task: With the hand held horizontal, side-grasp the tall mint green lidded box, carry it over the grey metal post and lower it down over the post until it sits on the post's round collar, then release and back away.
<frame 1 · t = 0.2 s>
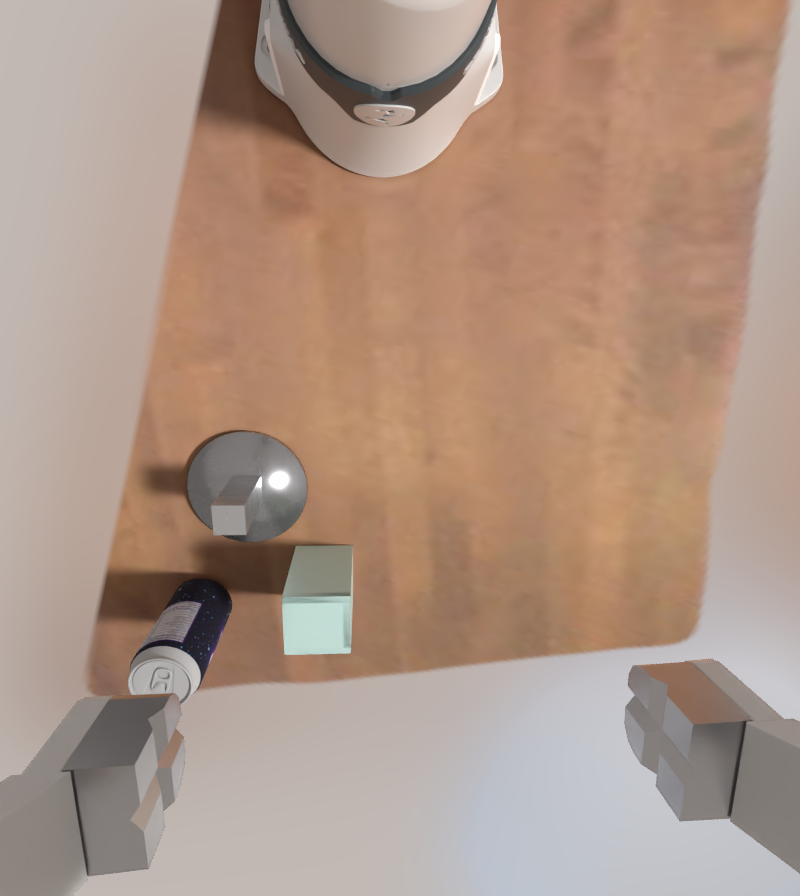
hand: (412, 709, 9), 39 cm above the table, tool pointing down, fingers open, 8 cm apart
beverage can: (206, 597, 52), on the table
post: (248, 487, 49), on the table
mint green lidded box: (325, 570, 52), on the table
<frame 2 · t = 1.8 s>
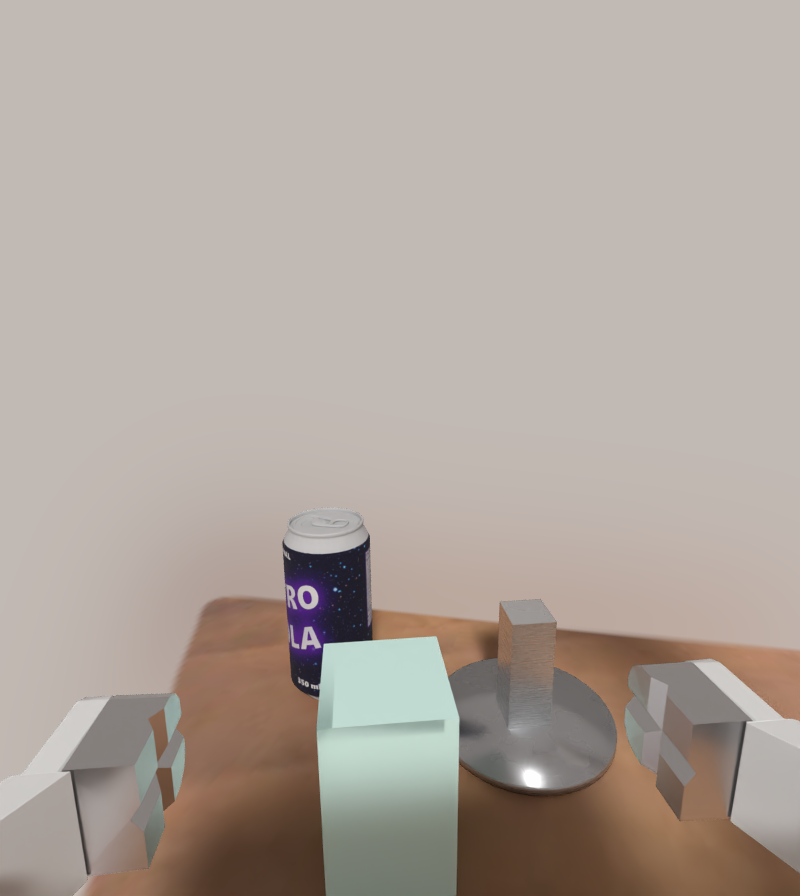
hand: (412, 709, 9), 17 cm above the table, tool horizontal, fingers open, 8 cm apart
beverage can: (333, 683, 36), on the table
post: (521, 718, 32), on the table
mint green lidded box: (387, 839, 25), on the table
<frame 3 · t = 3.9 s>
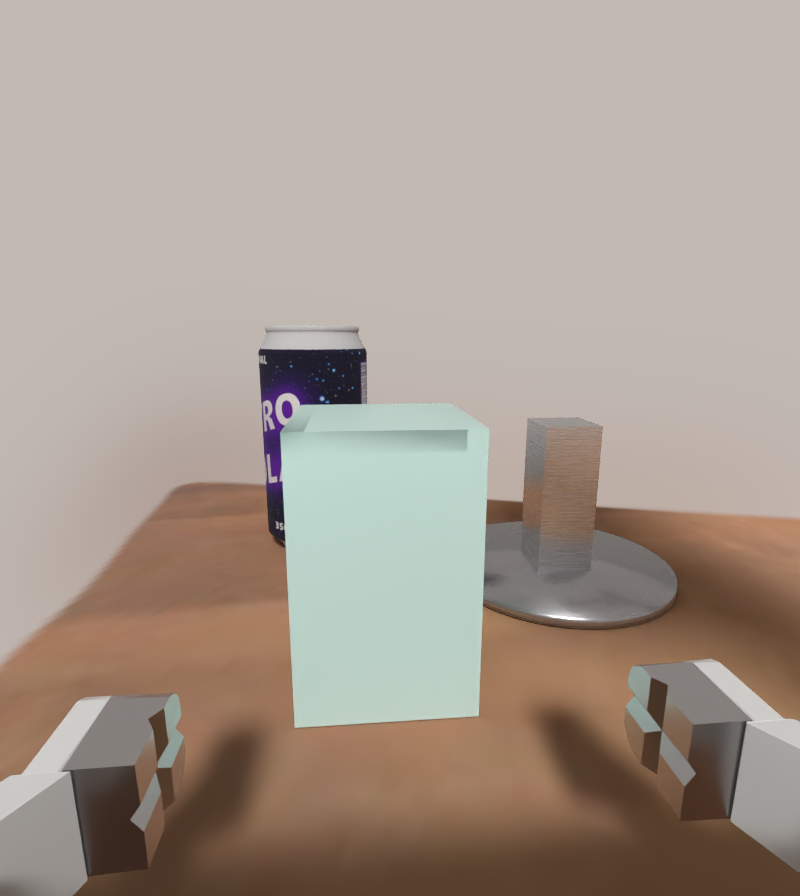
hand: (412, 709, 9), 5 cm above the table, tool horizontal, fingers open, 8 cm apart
beverage can: (320, 542, 30), on the table
post: (553, 568, 26), on the table
mint green lidded box: (383, 664, 18), on the table
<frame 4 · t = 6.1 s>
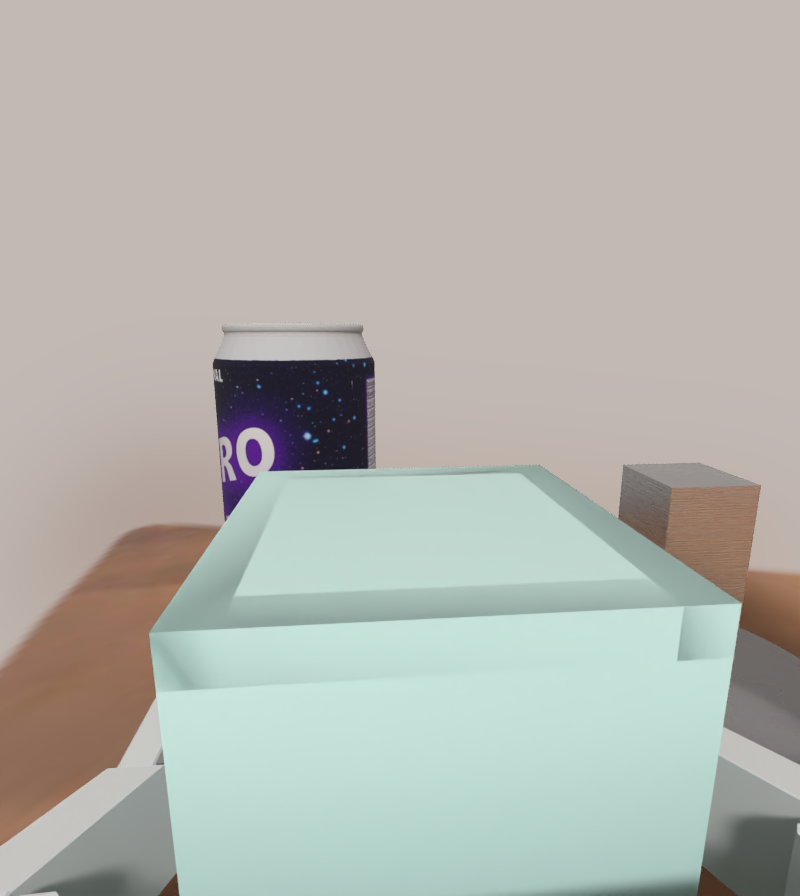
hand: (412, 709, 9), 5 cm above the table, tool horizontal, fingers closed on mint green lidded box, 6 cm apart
beverage can: (307, 633, 21), on the table
post: (660, 692, 17), on the table
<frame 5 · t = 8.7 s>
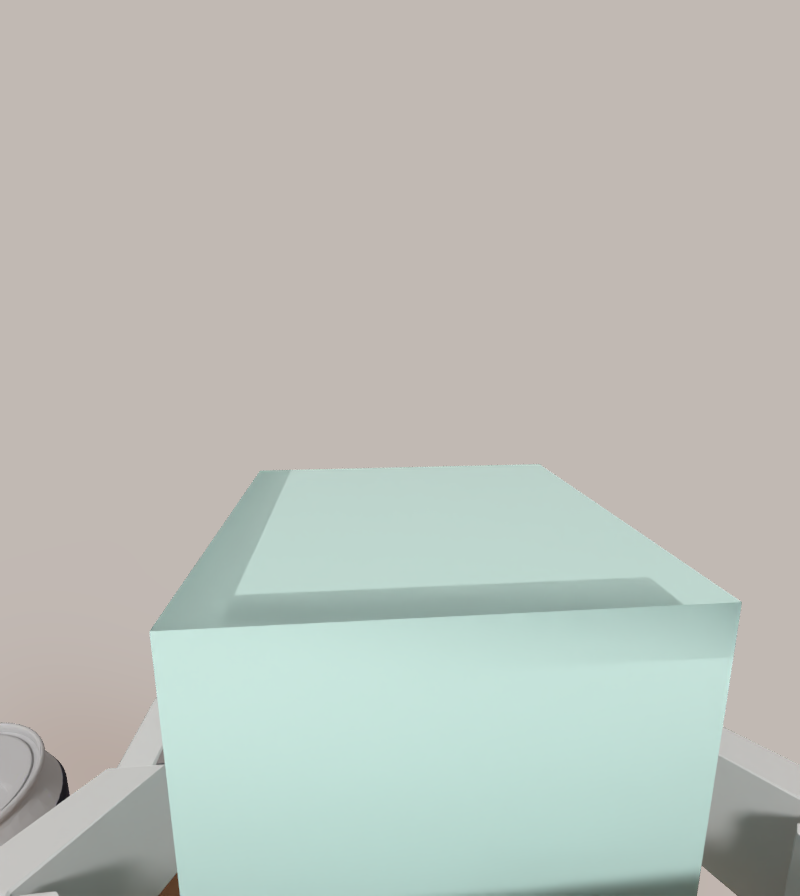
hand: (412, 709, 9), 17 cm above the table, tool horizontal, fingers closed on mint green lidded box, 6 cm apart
when the fingers open (6 cm above the table, at t = 11.7 s): mint green lidded box stays where it is, resting on post.
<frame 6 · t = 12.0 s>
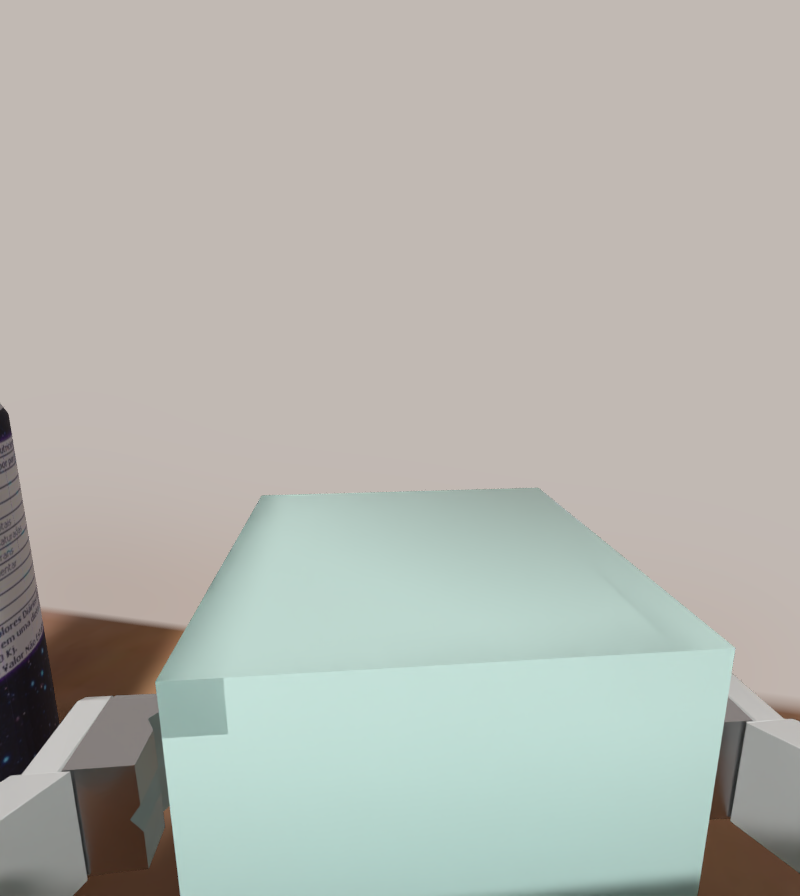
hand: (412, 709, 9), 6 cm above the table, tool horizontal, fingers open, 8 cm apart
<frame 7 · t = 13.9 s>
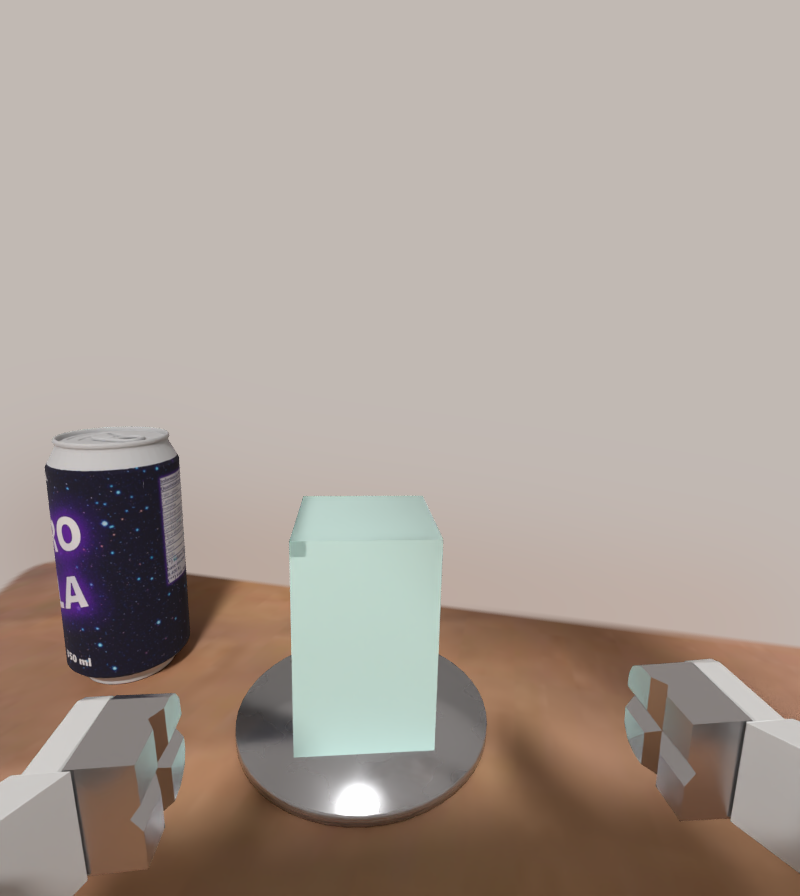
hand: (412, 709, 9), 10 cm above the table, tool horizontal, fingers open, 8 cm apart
beverage can: (133, 662, 27), on the table
post: (363, 715, 23), on the table
mint green lidded box: (363, 705, 23), resting on post
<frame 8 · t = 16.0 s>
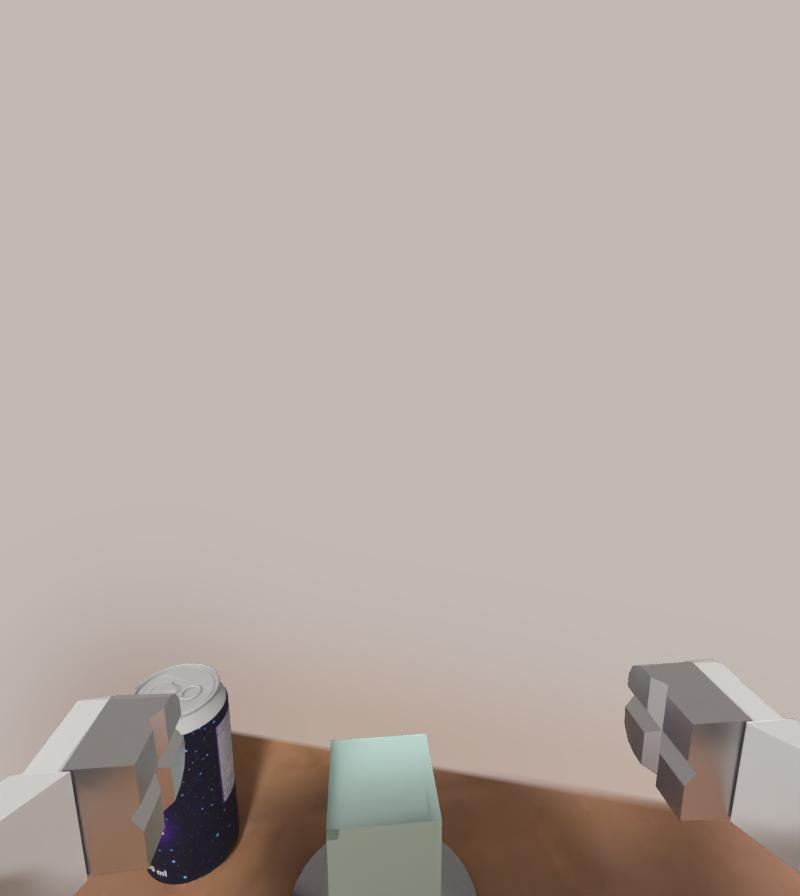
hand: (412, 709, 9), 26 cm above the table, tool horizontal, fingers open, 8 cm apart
beverage can: (194, 852, 33), on the table
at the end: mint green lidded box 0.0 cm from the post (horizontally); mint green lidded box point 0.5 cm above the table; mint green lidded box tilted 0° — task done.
